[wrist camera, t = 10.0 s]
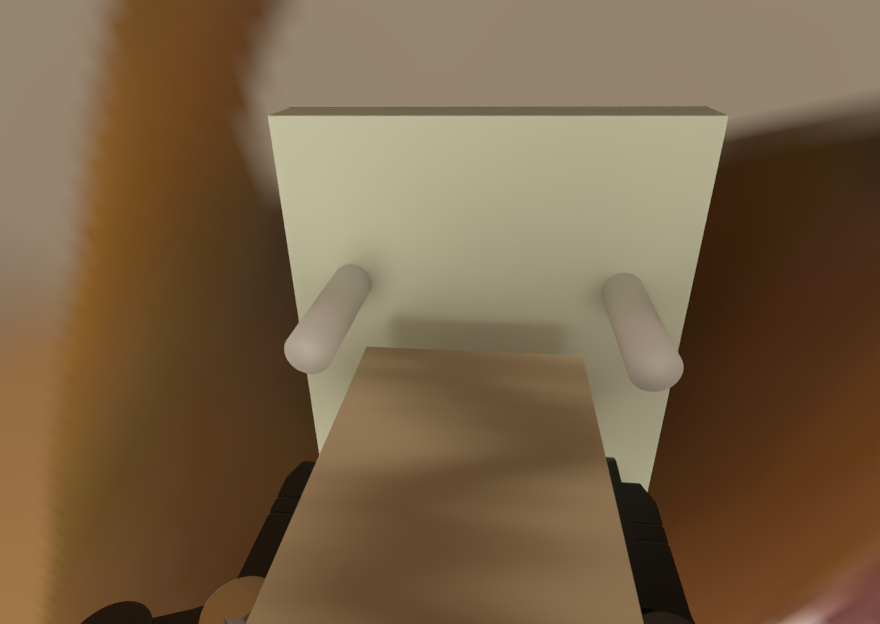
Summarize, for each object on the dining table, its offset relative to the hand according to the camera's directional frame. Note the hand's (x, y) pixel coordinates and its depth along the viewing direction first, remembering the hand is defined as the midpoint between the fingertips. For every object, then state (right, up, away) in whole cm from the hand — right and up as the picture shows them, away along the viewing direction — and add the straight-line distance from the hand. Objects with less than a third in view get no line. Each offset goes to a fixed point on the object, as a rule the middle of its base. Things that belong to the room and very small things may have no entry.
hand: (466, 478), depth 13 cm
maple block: (0, +1, +1) cm, 1 cm away
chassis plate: (+1, +2, +4) cm, 5 cm away
